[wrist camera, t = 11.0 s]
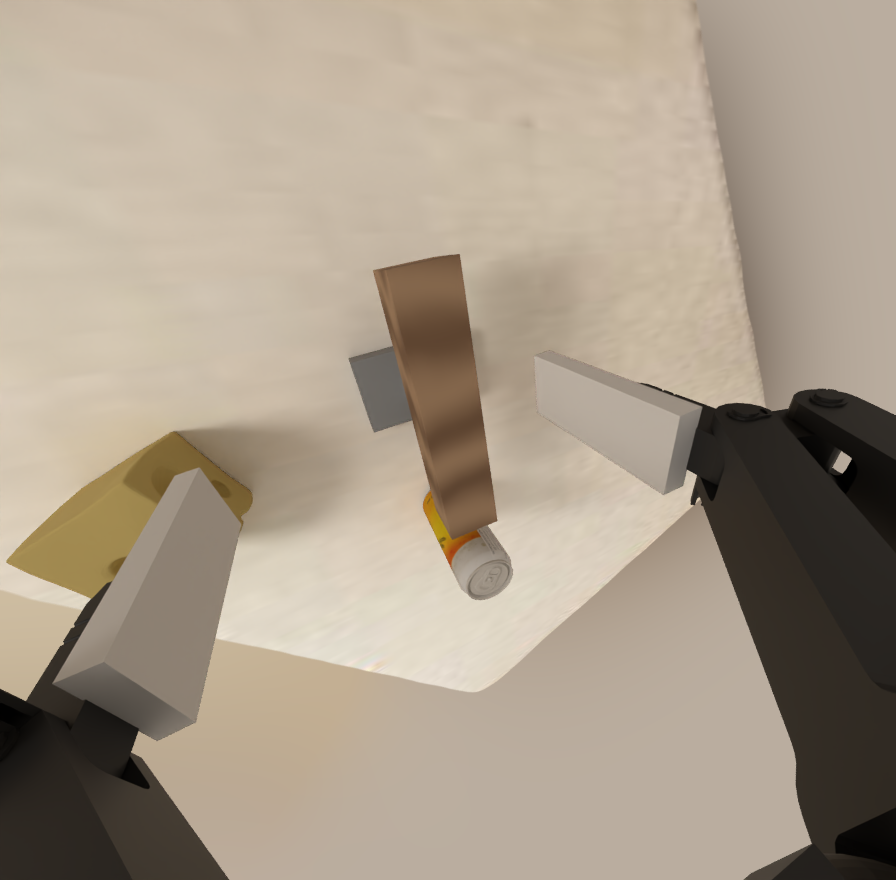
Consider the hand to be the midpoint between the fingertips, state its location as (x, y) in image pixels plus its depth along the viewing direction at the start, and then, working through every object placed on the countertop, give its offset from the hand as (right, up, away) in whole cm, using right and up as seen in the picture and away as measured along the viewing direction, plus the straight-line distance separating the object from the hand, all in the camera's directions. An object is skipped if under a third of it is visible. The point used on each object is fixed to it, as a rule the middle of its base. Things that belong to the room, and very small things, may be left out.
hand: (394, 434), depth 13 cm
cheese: (-26, -5, +21) cm, 34 cm away
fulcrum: (-2, +7, +25) cm, 26 cm away
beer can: (+1, -8, +34) cm, 35 cm away
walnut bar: (+1, +3, +18) cm, 19 cm away
